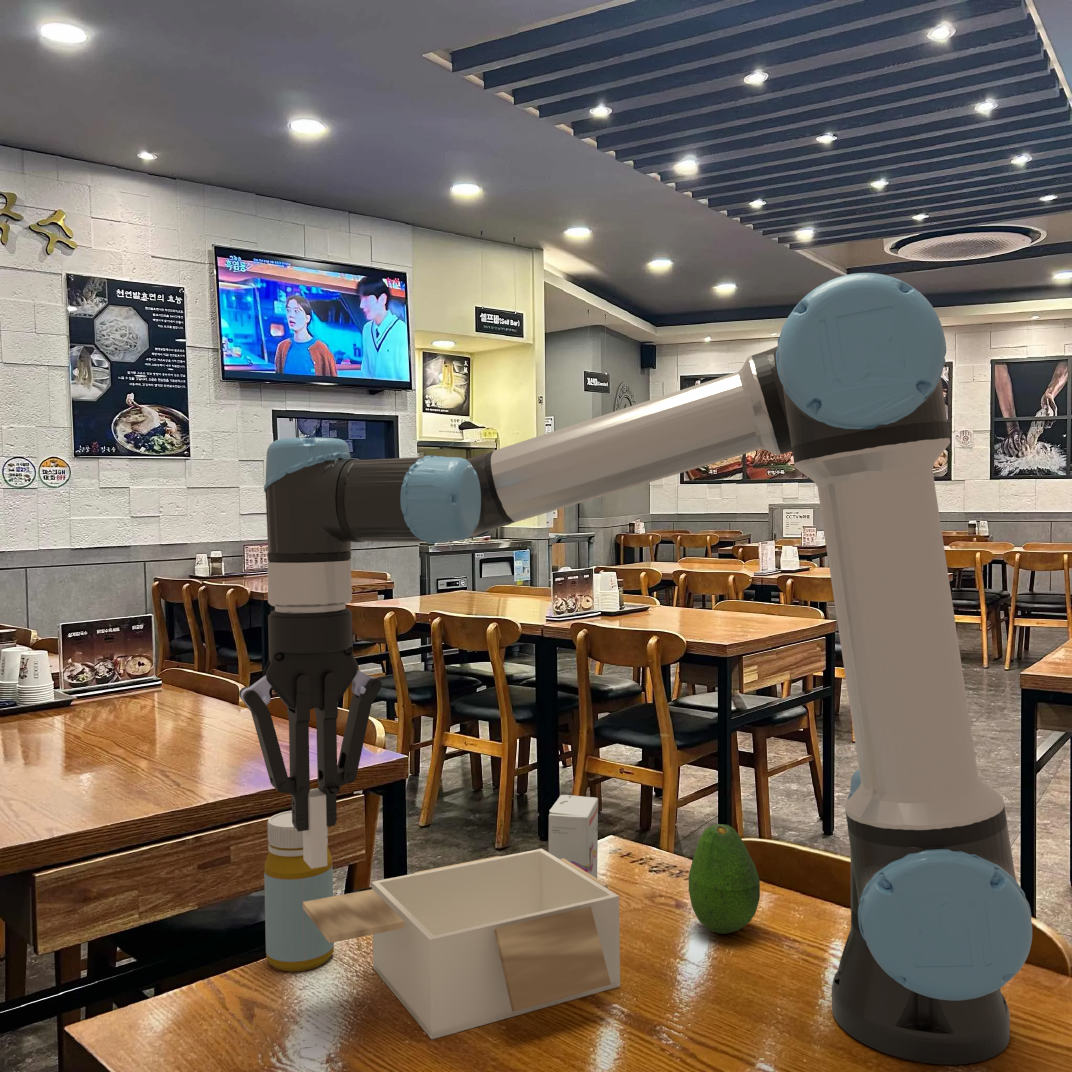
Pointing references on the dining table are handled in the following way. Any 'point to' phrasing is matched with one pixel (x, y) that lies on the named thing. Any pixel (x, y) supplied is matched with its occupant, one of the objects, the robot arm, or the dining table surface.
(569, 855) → the ink box
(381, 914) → the left flap
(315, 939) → the bottle
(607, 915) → the carton
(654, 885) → the dining table surface
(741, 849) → the fruit
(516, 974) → the near flap
